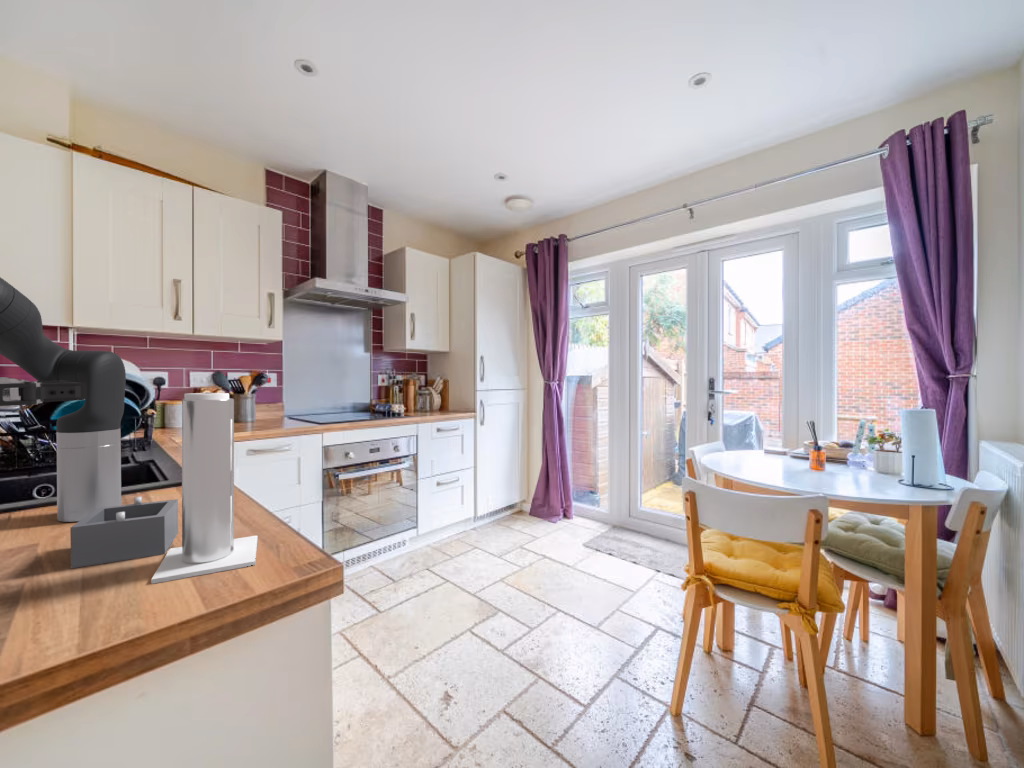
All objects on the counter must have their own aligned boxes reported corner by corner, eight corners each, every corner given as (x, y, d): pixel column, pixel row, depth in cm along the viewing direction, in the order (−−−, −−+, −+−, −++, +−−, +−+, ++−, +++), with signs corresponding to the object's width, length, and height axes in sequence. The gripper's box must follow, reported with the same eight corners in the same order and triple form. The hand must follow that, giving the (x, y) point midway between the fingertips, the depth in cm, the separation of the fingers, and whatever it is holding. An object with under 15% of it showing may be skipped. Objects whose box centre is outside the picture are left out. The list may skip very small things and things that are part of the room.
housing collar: (97, 543, 72) (97, 500, 72) (178, 532, 77) (177, 492, 77) (70, 568, 62) (70, 519, 62) (164, 553, 68) (164, 508, 67)
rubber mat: (170, 552, 68) (170, 548, 68) (257, 538, 74) (257, 535, 74) (151, 583, 58) (151, 579, 58) (254, 565, 64) (254, 561, 64)
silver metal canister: (207, 565, 62) (207, 393, 62) (170, 561, 63) (170, 392, 63) (243, 548, 68) (244, 392, 68) (209, 545, 70) (209, 391, 69)
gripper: (-156, 358, 39) (90, 361, 52) (-145, 359, 47) (65, 361, 60) (-152, 440, 39) (92, 422, 52) (-142, 427, 47) (67, 414, 61)
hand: (78, 389), depth 56 cm, fingers open, 8 cm apart
